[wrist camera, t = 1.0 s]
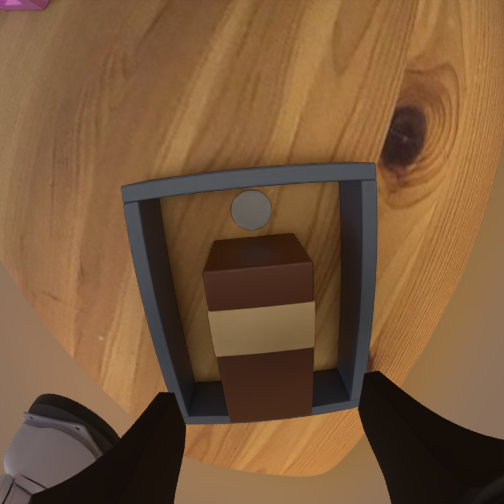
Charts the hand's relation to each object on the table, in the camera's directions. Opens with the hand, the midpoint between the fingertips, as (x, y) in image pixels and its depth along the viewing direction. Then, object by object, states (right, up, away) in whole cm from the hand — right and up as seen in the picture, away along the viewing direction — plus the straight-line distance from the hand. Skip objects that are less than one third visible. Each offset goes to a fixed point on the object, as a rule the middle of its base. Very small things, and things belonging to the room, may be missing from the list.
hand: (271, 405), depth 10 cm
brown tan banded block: (0, +2, +8) cm, 8 cm away
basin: (0, +3, +8) cm, 8 cm away
